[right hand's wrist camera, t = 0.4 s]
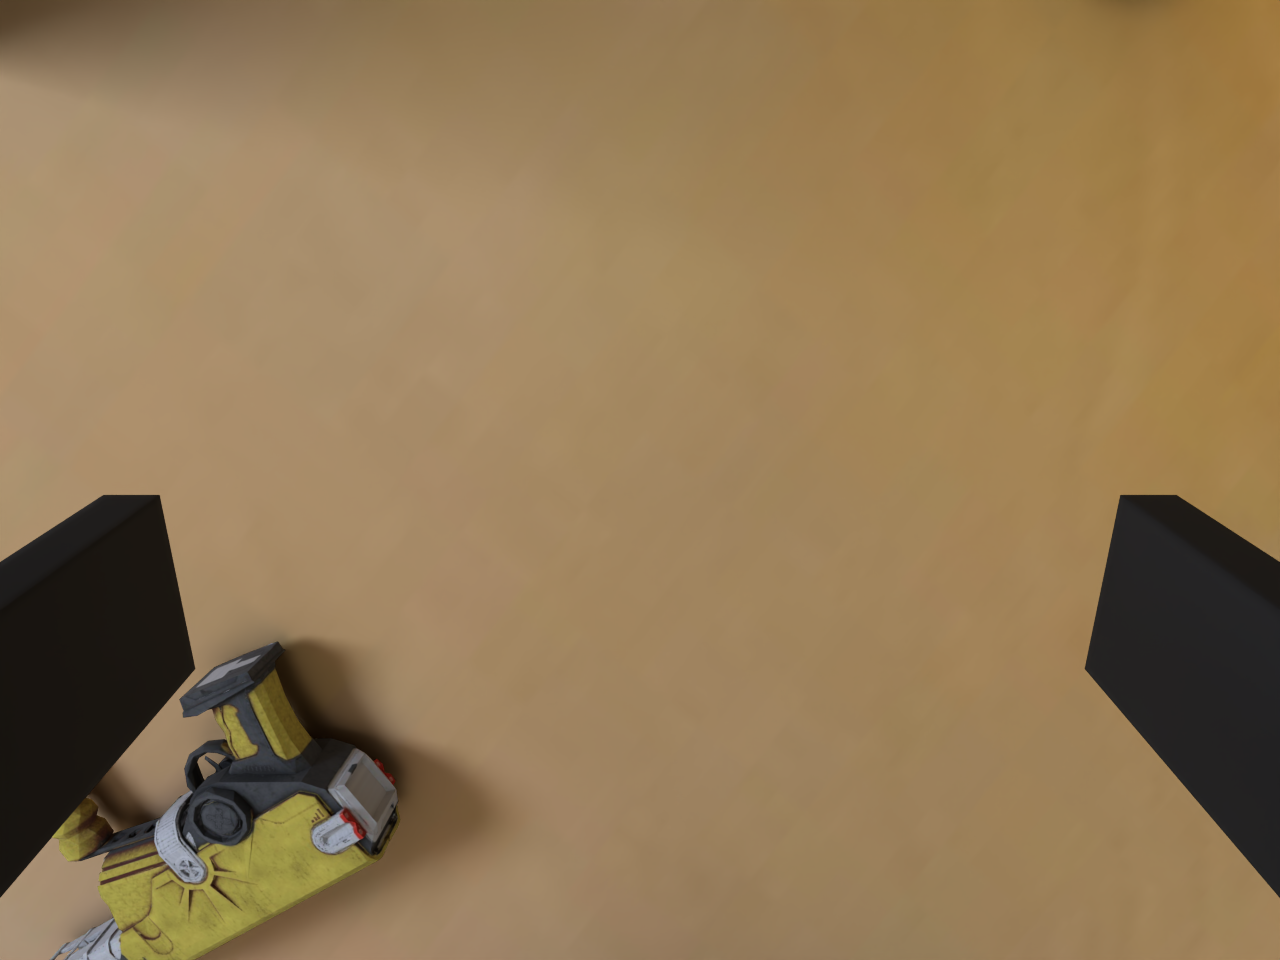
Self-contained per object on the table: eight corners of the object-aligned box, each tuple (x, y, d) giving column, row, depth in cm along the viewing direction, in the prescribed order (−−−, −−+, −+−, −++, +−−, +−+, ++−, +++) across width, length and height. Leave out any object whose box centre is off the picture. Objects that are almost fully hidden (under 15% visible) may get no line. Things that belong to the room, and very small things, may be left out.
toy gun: (-143, 845, 45) (59, 1043, 48) (186, 622, 39) (394, 863, 42) (-65, 787, 50) (116, 971, 53) (241, 578, 44) (425, 799, 47)
